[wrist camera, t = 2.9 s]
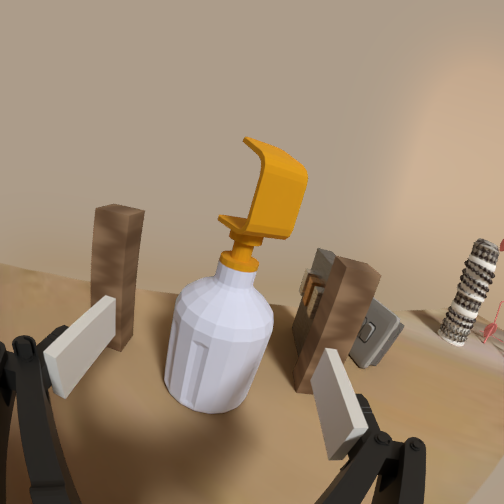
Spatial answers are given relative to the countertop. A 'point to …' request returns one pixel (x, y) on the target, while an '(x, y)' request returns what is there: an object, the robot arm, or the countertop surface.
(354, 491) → the robot arm
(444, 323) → the decorative candle
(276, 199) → the soap bottle
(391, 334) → the electrical switch
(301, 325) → the breaker panel
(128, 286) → the gate
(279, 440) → the countertop surface
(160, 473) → the countertop surface
